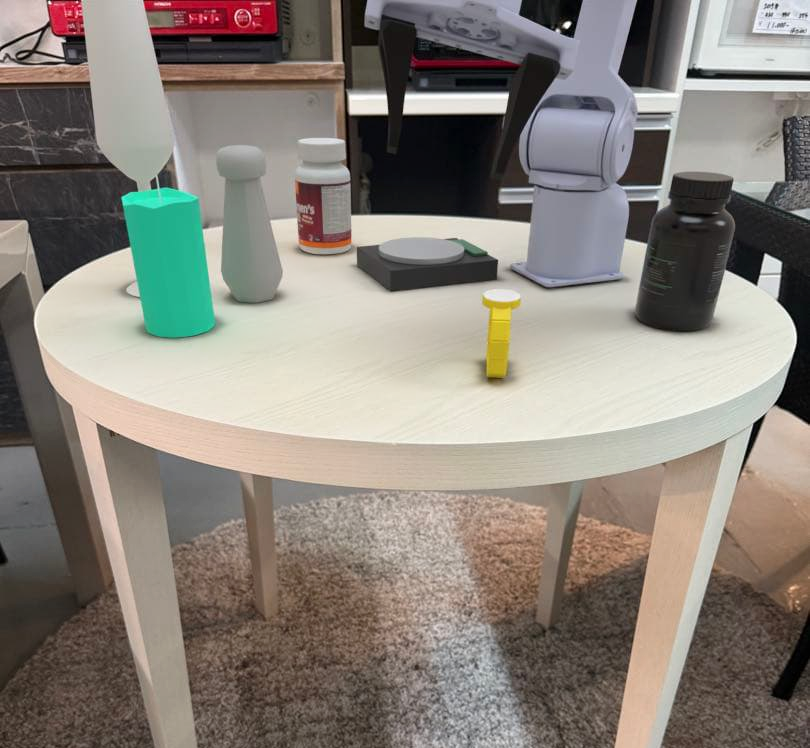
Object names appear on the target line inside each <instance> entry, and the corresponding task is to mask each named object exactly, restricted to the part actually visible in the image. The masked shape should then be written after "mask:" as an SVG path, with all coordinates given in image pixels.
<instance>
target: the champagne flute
mask: <svg viewBox="0 0 810 748" xmlns="http://www.w3.org/2000/svg"><path fill="white" fill-rule="evenodd" d="M80 2H81V11H82V22H83V28H84V30H83V31H84V37H85V38H84V39H85V40H84V41H85V48H86V58H87V65H88V75H89V85H90V92H91V102H92V103H91V104H92V111H93V120H94V128H95V129H94V130H95V137H96V144H97V146H98V148H99V149H100V151H101V152H102V154H103V155H104V156H105V158H106V159H107V160H108V161H109V163H111V164H112V165H113V166H114V167H115V168H117V169H118V170H119V171H120V172H122V174H123V175H125V176H126V177H127V178H129V179H130V180H133V181H134V182H136V187H137V192H139V191H148V190H152V187H151V181H152V180H153V179H156V176H158V175H159V174H160V172H162V169H164V167H165V166H166V164H167V163H168V162H169V160H170V158H171V156H172V154H173V151H174V148H175V146H176V145H175V144H176V138H175V135H174V130H173V125H172V122H171V121H172V120H171V117H170V113H169V108H168V103H167V99H166V94H165V91H164V85H163V82H162V78H161V77H162V76H161V73H160V69H159V64H158V60H157V56H156V51H155V47H154V42H153V38H152V34H151V30H150V25H149V21H148V20H149V19H148V17H147V12H146V8H145V7H146V6H145V3H144V0H80ZM125 291H126V293H127V294H129V295H130V296H133V297H137V298H140V294H139V289H138V283H137V280H135V281H134V282H133V283H131V284H130V285H129V286H127V288H126V290H125Z"/></svg>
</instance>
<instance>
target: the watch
mask: <svg viewBox="0 0 810 748" xmlns="http://www.w3.org/2000/svg"><path fill="white" fill-rule="evenodd" d="M521 299H522V295H521V294H520V293H519V292H518V291H515V290H512V289H506V288H494V289H489V290H486V291H485V292H483V294H482V297H481V304H482V305H483V306H484V307H485V308H487V309H489V314H488V315H489V316H488V326H487V327H488V329H487V340H486V341H487V344H486V360H485V361H486V377H487V378H494V379H495V378H496V379H504V378H506V374H507V368H508V361H509V353H510V352H509V351H510V341H511V324H512V323H511V322H512V310H517V309H518V308H519V307H520V305H521Z"/></svg>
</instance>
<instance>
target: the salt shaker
mask: <svg viewBox="0 0 810 748" xmlns="http://www.w3.org/2000/svg"><path fill="white" fill-rule="evenodd" d="M215 154H216V157H215V158H216V159H215V162H216V163H215V164H216V168H217V172H218V174H219V176H220V177H222V178H224V196H223V197H224V198H223V215H222V217H223V218H222V236H221V237H222V238H221V257H220V260H221V261H220V263H221V264H220V272H221V273H220V274H221V276H222V280H223V282H224V283H225V285H226V287H227V288H228V289H229V292H230V293H231V295H232V297H233V298H234V299H235V300H236V301H237V302H239V303H250V304H252V303H253V304H258V303H263V302H267V301H272V300H274V298H275V296H276V293H277V291H278V289H279V286H280V283H281V281H282V279H283V272H284V270H283V266H282V263H281V262H282V261H281V259H280V254H279V251H278V247H277V243H276V240H275V235H274V230H273V227H272V222H271V219H270V214H269V210H268V206H267V202H266V198H265V194H264V189H263V185H262V181H261V177H263V176H265V175H266V172H267V163H266V157H265V154H264V152H263V151H262V150H261V149H260V148H259V147H256V146H254V145H249V144H248V145H246V144H237V145H236V144H235V145H227V146H225V147H222V148H219V149H218V151H217V152H216V153H215Z"/></svg>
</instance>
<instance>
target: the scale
mask: <svg viewBox="0 0 810 748" xmlns="http://www.w3.org/2000/svg"><path fill="white" fill-rule="evenodd" d="M356 266H357V267H358V268H359V269H361V270H362V271H363V272H365V273H366V274H368V275H369V277H371V278H373V280H375V281H377V282H378V283H379V284H381V285H382V286H383V287H385V288H386V289H387V290H389V291H390V292H397V291H405V290H414V289H421V288H423V289H424V288H431V287H440V286H451V285H456V284H457V285H459V284H467V283H476V282H485V281H495V280H497V279H498V267H499V259H497V258H495V257H493V256H492V255H490V254H489V252H488V251H487V250H484V249H483V248H480V247H478V246H477V245H476V244H473V243H471V242H469V241H468V240H465V239H463V238H461V239H459V238H457V237H451V238H437V237H424V236H423V237H422V236H421V237H420V236H416V237H415V236H414V237H401V238H394V239H390V240H387V241H386V240H385V241H384V242H382V243H380V244H373V245H361V246H356Z"/></svg>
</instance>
